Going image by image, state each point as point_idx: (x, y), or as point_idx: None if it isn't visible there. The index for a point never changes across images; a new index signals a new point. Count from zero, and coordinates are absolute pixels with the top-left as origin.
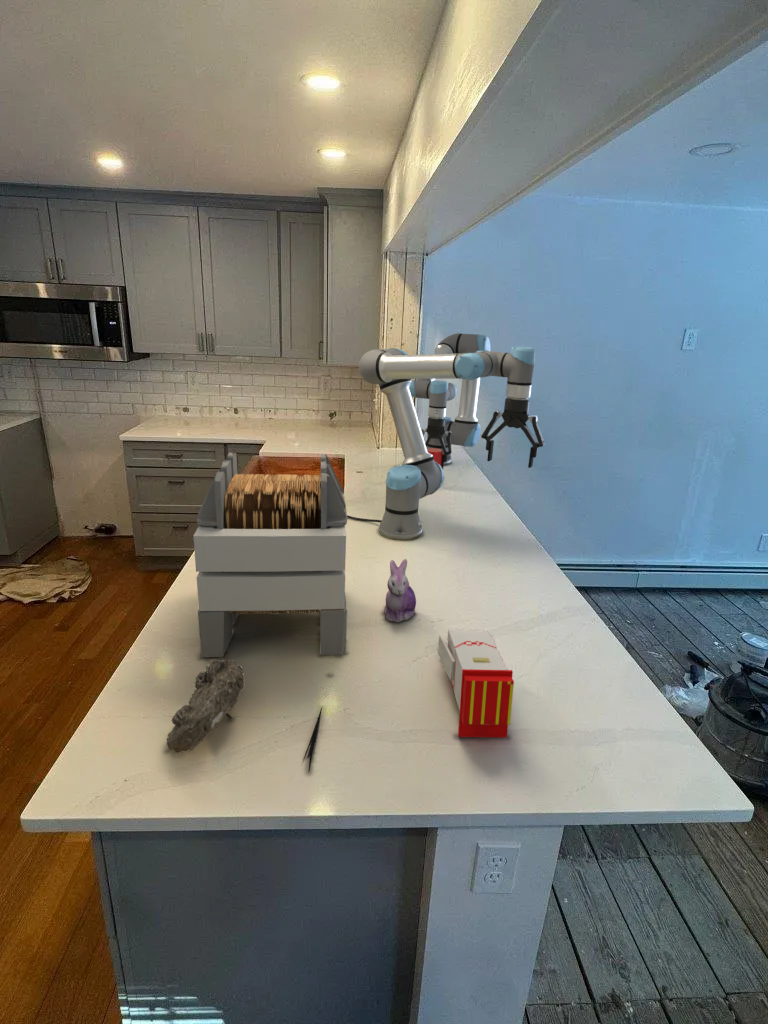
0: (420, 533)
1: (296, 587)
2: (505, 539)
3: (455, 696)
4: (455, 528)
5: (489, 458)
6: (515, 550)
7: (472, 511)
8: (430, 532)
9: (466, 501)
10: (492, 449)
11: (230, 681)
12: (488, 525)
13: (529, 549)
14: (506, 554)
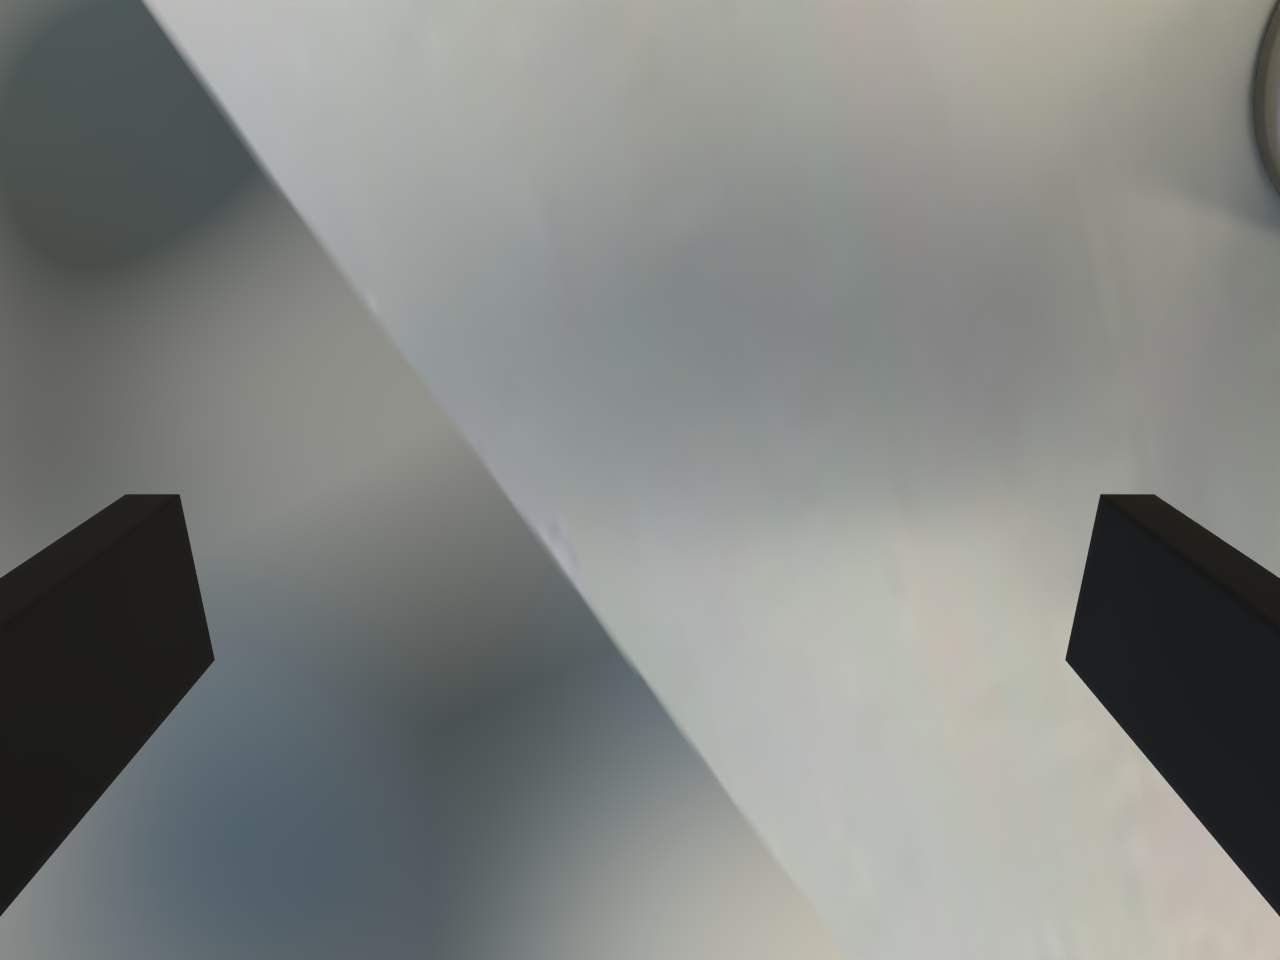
0: (1275, 59)
1: None
2: (630, 398)
3: None
4: (1018, 398)
5: (1143, 519)
6: (503, 232)
7: (975, 759)
8: (1188, 207)
9: (1052, 897)
10: (1230, 792)
11: None
12: (810, 581)
13: (425, 311)
14: (535, 112)
